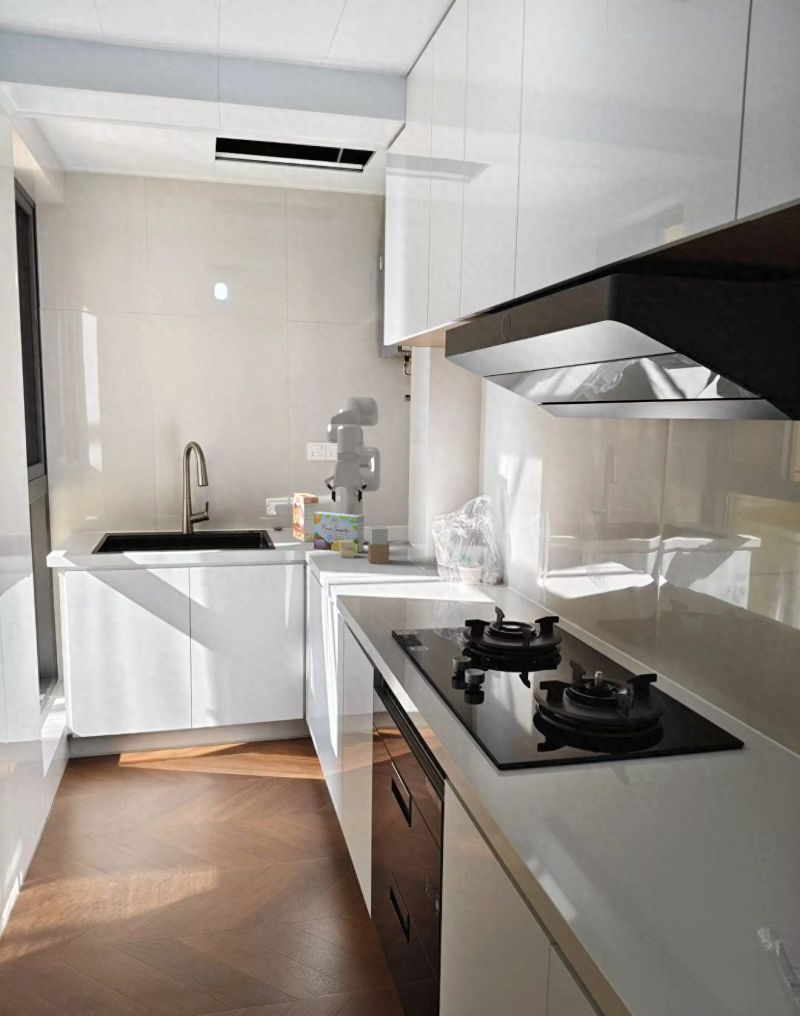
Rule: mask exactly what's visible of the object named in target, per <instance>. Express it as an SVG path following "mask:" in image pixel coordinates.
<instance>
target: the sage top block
mask: <svg viewBox="0 0 800 1016" xmlns="http://www.w3.org/2000/svg"><path fill="white" fill-rule="evenodd" d="M388 530H389V529H388V528H387V527H386V526H369V542H370V543H371V545H388V544H389V543H388V542H389V540H388V539H389V537H388V533H389V532H388Z"/></svg>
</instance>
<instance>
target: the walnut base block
mask: <svg viewBox="0 0 800 1016" xmlns="http://www.w3.org/2000/svg"><path fill="white" fill-rule="evenodd" d="M367 544H368V545H367V546H368V549H367V552H368V553H367V555H368V556H367V557H368V558H367V560H369V561H370V562H369V561H368V562H369V564H370V563H377V562H378V564H390V544H389V543H388V545H371V543H370V541H368V543H367Z"/></svg>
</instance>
